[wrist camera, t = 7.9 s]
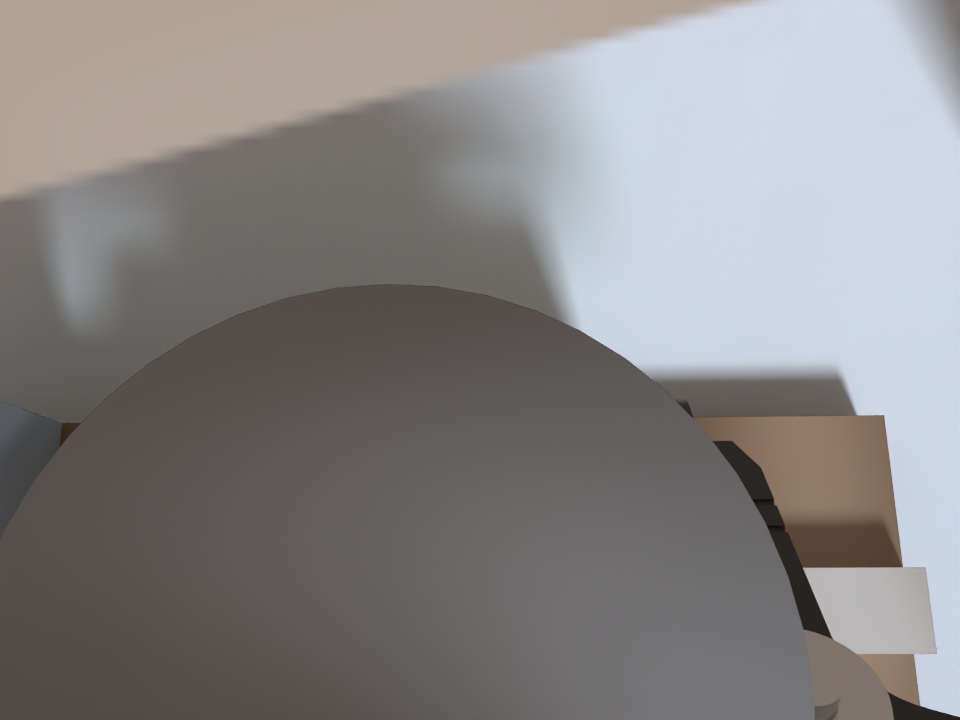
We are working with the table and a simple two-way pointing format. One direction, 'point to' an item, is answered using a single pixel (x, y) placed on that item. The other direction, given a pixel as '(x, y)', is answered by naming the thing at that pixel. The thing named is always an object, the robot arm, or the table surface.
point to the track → (838, 532)
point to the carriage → (394, 533)
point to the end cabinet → (22, 455)
